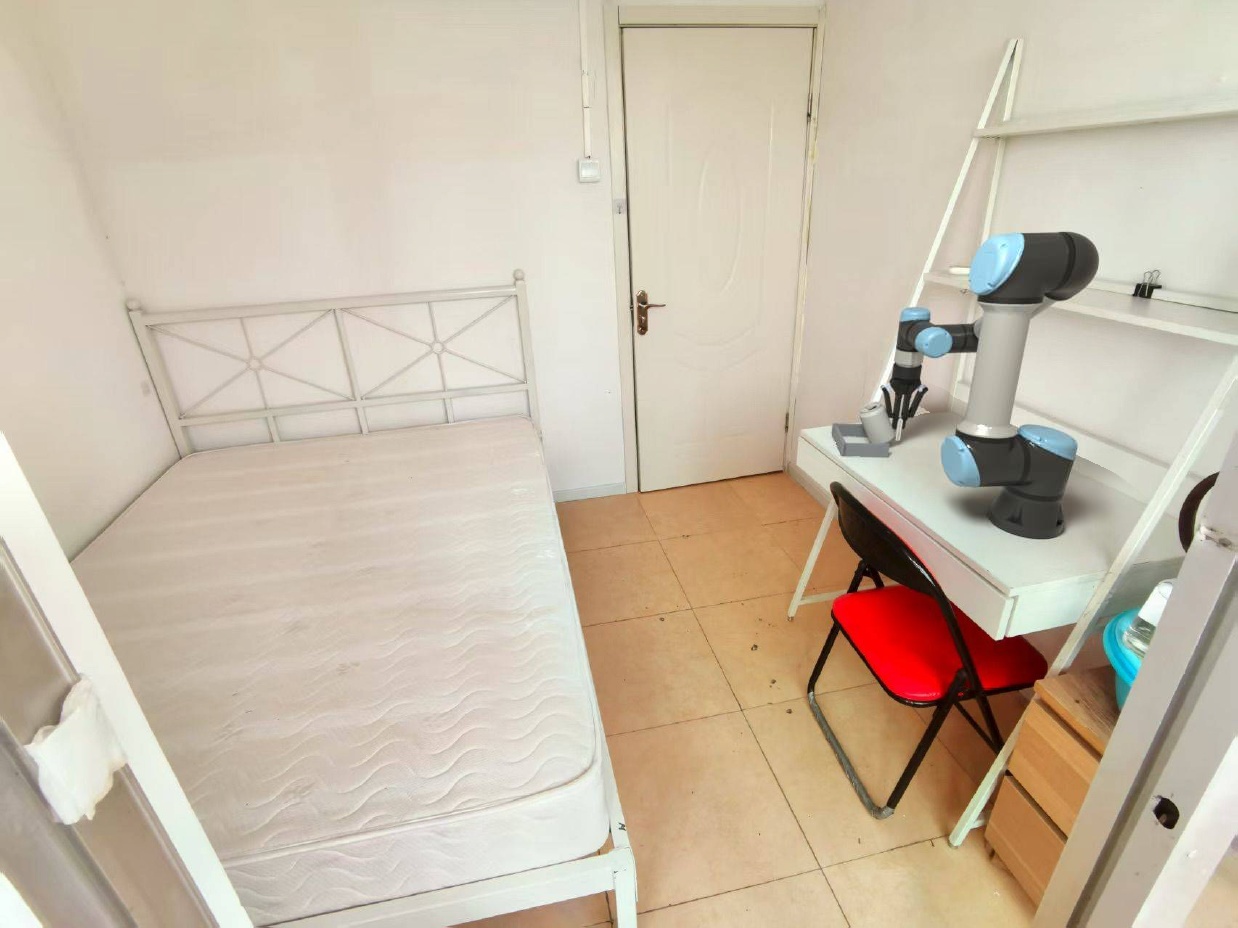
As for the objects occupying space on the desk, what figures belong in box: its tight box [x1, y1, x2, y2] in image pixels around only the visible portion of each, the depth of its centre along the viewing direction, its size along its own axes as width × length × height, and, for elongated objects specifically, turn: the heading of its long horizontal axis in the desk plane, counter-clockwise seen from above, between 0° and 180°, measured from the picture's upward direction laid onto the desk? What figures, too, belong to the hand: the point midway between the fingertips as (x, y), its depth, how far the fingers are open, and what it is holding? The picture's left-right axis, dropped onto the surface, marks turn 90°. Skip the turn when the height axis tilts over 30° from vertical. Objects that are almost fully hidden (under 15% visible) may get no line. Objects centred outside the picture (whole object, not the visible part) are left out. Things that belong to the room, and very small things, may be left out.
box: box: [831, 423, 891, 458], centre depth 190 cm, size 16×13×4 cm
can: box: [858, 401, 895, 444], centre depth 188 cm, size 8×8×12 cm
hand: (896, 438), depth 189 cm, fingers closed
